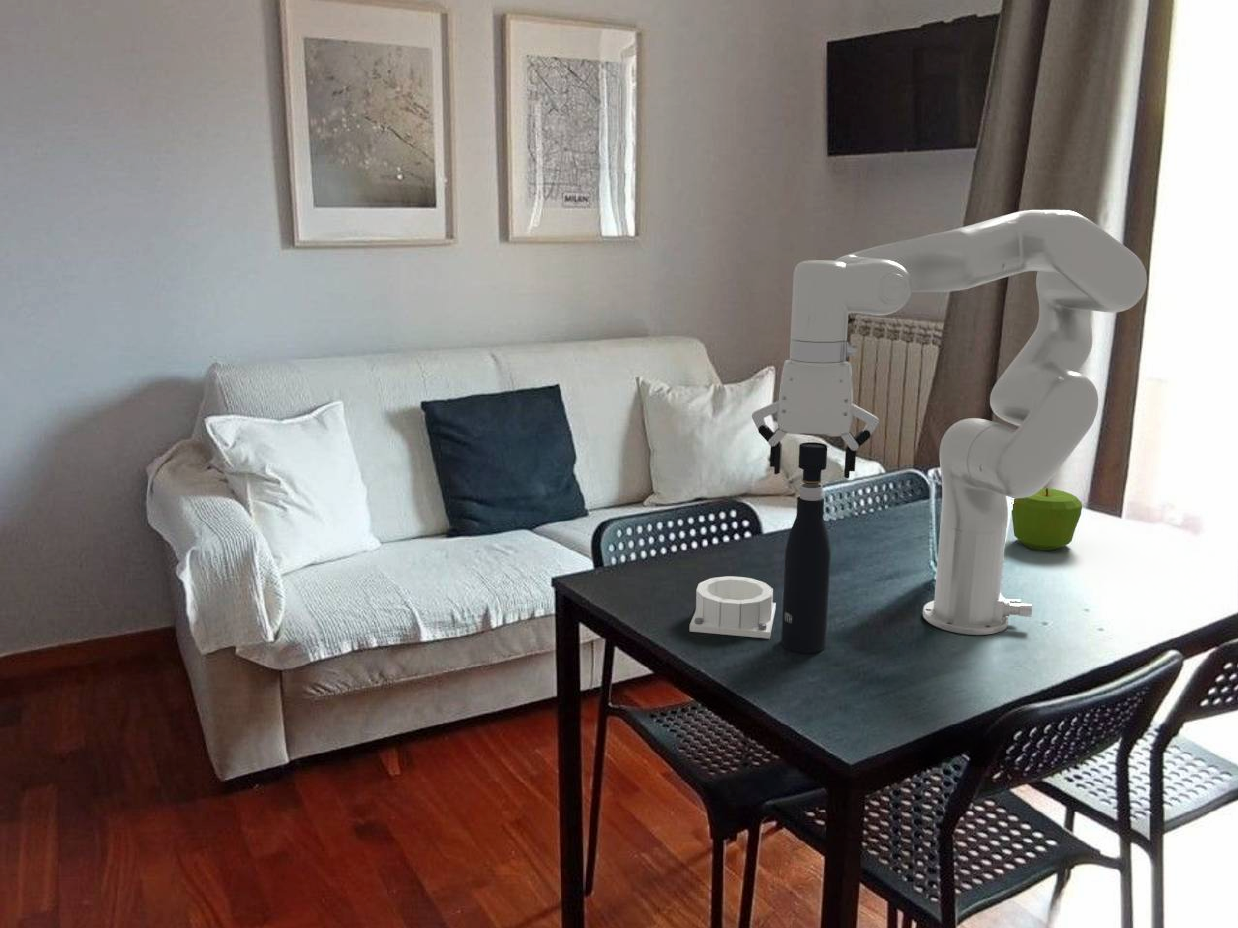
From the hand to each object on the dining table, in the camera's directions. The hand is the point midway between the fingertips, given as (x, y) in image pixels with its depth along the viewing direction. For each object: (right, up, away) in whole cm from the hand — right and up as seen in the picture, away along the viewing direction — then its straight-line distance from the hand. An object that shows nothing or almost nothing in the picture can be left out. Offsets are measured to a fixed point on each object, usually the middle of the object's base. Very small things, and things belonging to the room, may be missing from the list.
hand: (811, 473), depth 145 cm
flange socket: (-9, -23, +15) cm, 29 cm away
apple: (+53, -14, +51) cm, 75 cm away
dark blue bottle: (0, -25, +6) cm, 26 cm away
